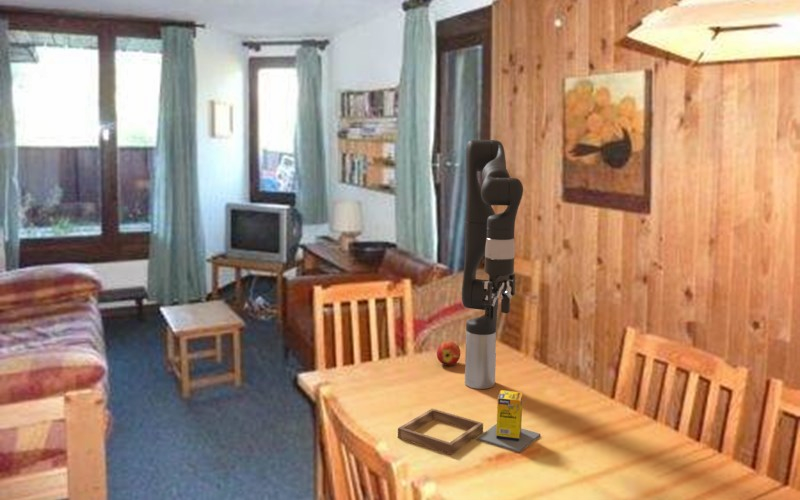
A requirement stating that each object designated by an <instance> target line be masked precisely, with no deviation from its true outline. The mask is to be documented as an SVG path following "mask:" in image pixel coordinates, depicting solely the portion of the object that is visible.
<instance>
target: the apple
mask: <svg viewBox="0 0 800 500" xmlns="http://www.w3.org/2000/svg"><path fill="white" fill-rule="evenodd" d="M436 357H437V360H438V362H440V363H441V364H442V365H445V366H453V365H455V364H457V362H459V360H460V358H461V349H460V346H459V345H458V344H457V343H456V342H454V341H451V340H447V341H444V342H442V343H441V344H440V345H439V346H438V347H437V350H436Z"/></svg>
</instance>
